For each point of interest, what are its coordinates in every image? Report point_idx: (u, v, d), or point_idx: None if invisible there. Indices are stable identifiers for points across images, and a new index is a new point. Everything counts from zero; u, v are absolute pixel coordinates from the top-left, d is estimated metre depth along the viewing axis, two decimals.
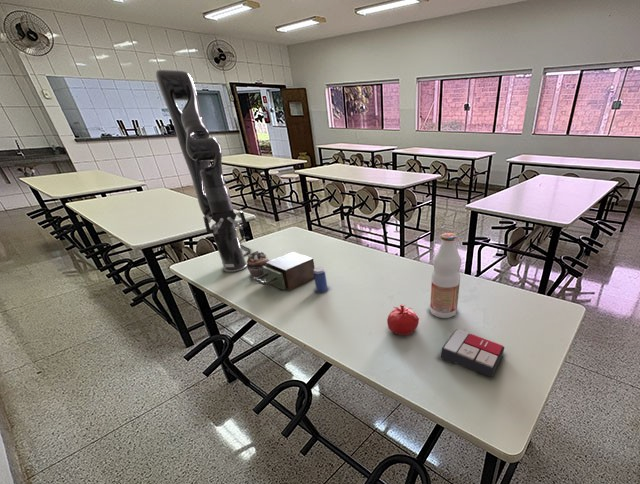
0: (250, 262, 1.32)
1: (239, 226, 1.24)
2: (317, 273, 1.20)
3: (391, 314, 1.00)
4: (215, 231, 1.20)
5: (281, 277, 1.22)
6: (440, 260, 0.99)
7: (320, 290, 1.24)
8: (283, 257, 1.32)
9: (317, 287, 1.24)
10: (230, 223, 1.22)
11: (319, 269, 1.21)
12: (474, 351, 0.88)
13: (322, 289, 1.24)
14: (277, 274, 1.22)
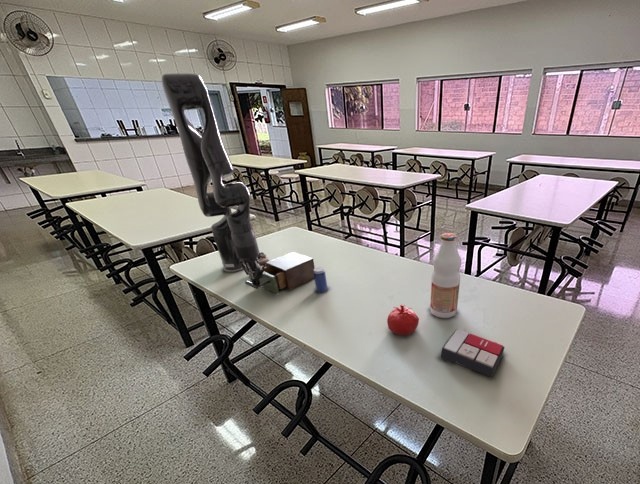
0: None
1: (251, 275, 1.17)
2: (317, 273, 1.20)
3: (391, 314, 1.00)
4: (250, 275, 1.17)
5: (274, 280, 1.19)
6: (440, 260, 0.99)
7: (320, 290, 1.24)
8: (283, 257, 1.32)
9: (317, 287, 1.24)
10: (251, 269, 1.15)
11: (319, 269, 1.21)
12: (474, 351, 0.88)
13: (322, 289, 1.24)
14: (270, 277, 1.19)
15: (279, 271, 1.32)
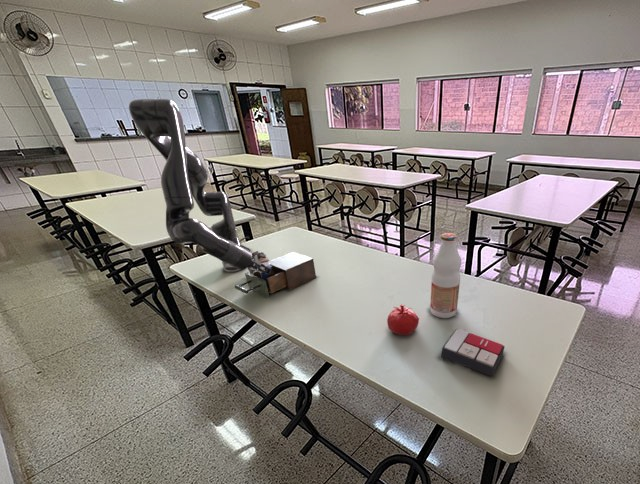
0: None
1: None
2: None
3: (391, 314, 1.00)
4: None
5: (264, 284, 1.16)
6: (440, 260, 0.99)
7: (267, 286, 1.23)
8: (283, 257, 1.32)
9: None
10: None
11: (264, 264, 1.20)
12: (474, 350, 0.88)
13: None
14: (260, 281, 1.17)
15: None
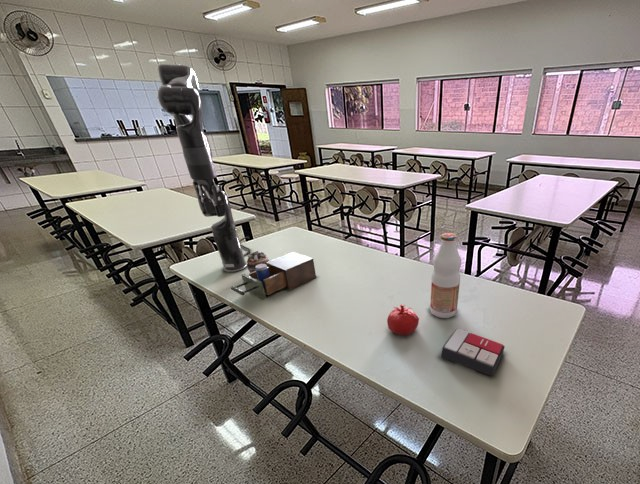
0: (250, 262, 1.32)
1: (212, 201, 1.04)
2: (258, 270, 1.18)
3: (391, 314, 1.00)
4: (202, 199, 1.08)
5: (260, 286, 1.16)
6: (440, 260, 0.99)
7: (263, 287, 1.22)
8: (283, 257, 1.32)
9: None
10: None
11: (261, 266, 1.19)
12: (474, 350, 0.88)
13: None
14: (256, 283, 1.16)
15: None
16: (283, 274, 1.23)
